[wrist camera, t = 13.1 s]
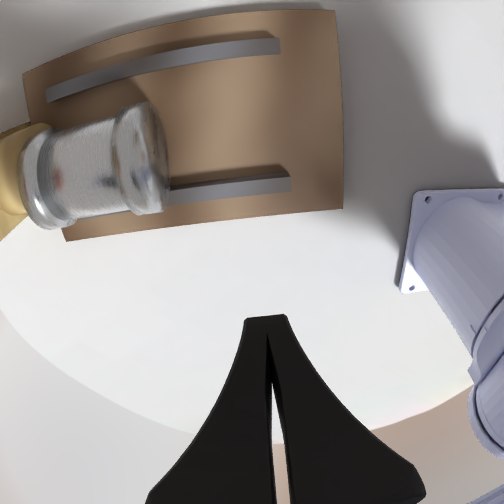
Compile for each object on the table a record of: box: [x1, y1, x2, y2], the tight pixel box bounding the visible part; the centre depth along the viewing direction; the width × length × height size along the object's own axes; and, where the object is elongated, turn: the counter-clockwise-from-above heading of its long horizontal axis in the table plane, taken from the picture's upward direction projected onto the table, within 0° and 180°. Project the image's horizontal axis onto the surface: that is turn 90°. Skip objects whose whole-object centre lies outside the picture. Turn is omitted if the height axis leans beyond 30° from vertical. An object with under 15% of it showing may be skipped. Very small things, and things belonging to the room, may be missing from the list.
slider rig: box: [0, 10, 343, 242], centre depth 12 cm, size 22×11×9 cm, turn 96°
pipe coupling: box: [17, 101, 171, 230], centre depth 13 cm, size 6×5×5 cm
